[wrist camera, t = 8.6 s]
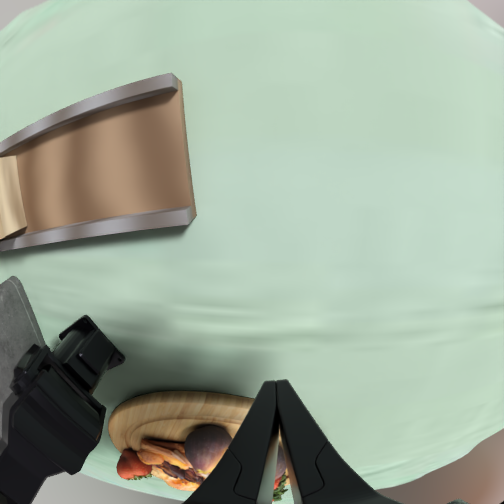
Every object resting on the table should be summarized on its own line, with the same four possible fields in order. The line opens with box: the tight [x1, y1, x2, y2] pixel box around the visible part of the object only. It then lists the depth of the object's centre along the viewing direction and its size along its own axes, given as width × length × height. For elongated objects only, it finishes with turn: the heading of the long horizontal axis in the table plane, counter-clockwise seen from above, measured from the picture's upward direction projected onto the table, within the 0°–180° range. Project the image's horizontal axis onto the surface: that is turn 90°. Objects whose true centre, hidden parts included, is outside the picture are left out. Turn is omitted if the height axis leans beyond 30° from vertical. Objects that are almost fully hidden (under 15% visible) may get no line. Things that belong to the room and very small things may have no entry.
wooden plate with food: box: [108, 391, 290, 501], centre depth 29 cm, size 32×32×8 cm
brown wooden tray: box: [0, 73, 197, 252], centre depth 18 cm, size 30×10×4 cm, turn 95°
